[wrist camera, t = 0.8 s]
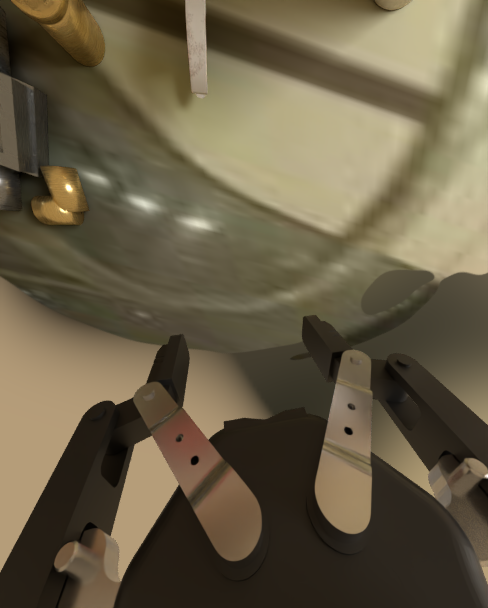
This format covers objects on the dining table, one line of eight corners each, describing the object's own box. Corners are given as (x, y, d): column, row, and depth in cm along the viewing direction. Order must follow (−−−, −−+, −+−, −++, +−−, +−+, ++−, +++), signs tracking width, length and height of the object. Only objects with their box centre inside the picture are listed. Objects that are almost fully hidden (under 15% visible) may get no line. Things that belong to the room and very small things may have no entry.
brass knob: (55, -11, 20) (-26, -118, 13) (109, 20, 22) (60, -62, 15) (56, 54, 22) (-14, -10, 15) (105, 79, 24) (61, 30, 17)
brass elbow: (82, 169, 27) (36, 168, 27) (65, 166, 24) (12, 164, 24) (98, 223, 31) (57, 223, 30) (85, 226, 27) (39, 226, 27)
